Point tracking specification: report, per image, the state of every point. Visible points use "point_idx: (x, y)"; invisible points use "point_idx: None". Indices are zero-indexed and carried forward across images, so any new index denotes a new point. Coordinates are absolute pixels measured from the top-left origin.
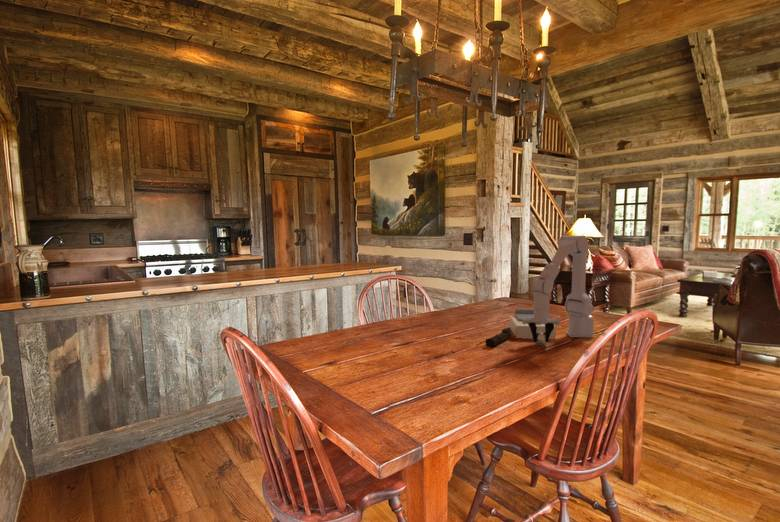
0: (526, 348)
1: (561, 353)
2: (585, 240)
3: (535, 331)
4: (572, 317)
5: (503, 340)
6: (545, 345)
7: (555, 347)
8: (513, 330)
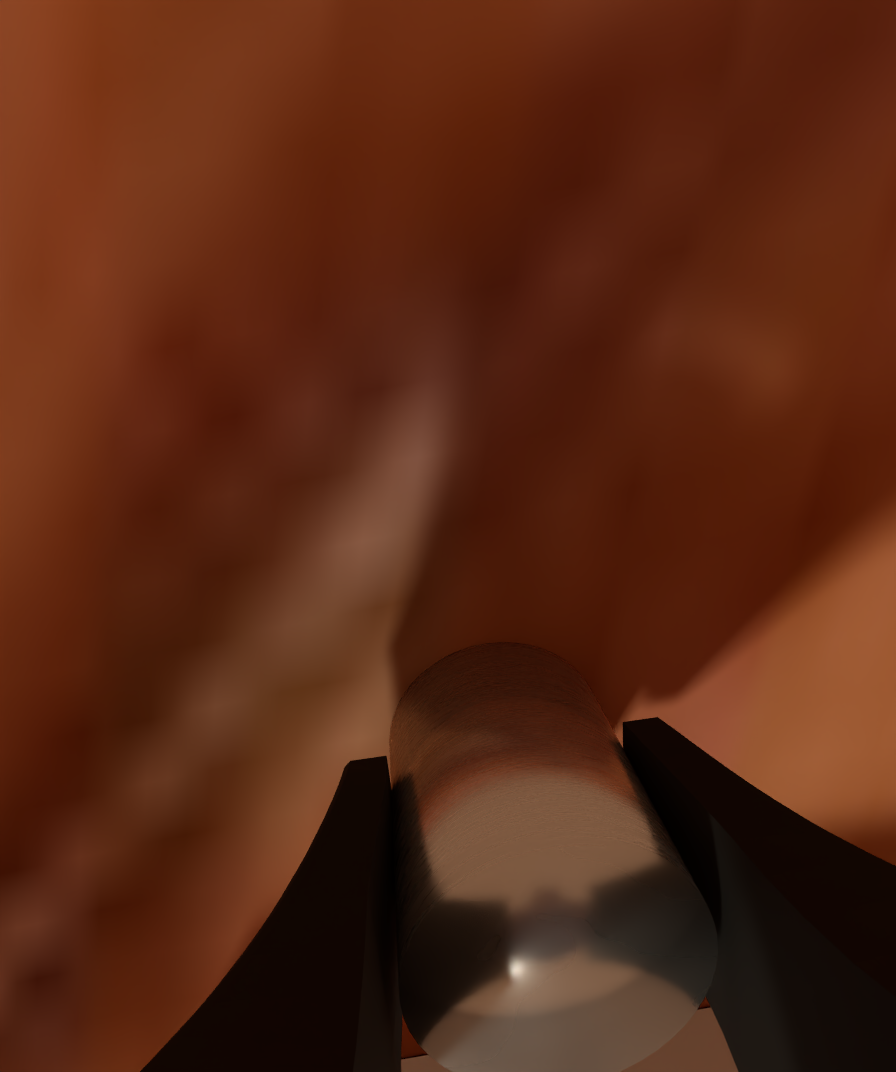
0: (852, 432)
1: (63, 171)
2: None
3: (816, 892)
4: None
5: None
6: (402, 701)
7: (193, 633)
8: None
